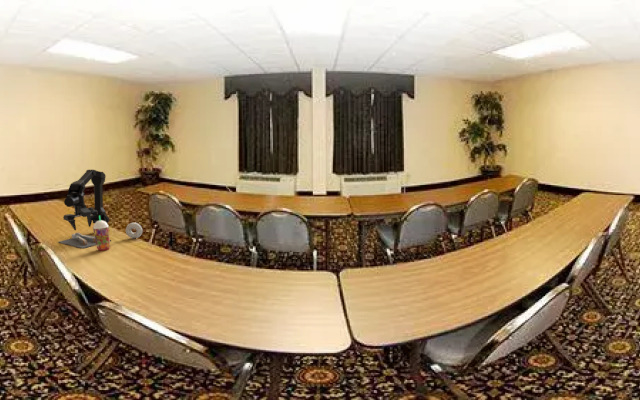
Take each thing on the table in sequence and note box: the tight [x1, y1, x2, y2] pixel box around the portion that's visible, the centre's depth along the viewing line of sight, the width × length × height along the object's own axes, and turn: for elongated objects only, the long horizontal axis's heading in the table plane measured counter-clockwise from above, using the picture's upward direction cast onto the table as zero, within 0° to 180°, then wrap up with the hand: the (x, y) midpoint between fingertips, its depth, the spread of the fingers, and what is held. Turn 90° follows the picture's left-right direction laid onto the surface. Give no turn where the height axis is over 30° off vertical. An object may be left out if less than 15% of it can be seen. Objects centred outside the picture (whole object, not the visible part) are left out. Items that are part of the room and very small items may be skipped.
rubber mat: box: [58, 234, 112, 250], centre depth 295 cm, size 18×27×1 cm, turn 55°
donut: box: [125, 222, 143, 239], centre depth 298 cm, size 10×4×10 cm, turn 94°
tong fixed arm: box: [71, 232, 96, 242], centre depth 296 cm, size 23×4×4 cm, turn 56°
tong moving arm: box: [75, 235, 87, 245], centre depth 292 cm, size 18×2×2 cm, turn 42°
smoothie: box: [92, 216, 111, 252], centre depth 275 cm, size 8×8×20 cm
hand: (82, 228), depth 296 cm, fingers open, 9 cm apart
